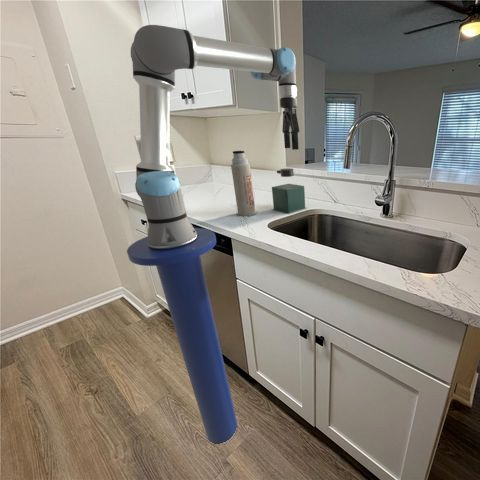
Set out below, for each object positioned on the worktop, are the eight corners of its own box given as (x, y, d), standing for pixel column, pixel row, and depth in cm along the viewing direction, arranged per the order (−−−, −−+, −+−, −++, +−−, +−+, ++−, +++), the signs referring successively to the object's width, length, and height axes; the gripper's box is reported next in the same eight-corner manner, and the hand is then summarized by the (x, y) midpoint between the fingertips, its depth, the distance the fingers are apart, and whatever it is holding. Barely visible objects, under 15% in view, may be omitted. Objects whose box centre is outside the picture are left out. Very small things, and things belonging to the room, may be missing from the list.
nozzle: (273, 175, 124) (272, 169, 123) (283, 173, 128) (282, 167, 127) (286, 177, 118) (286, 170, 117) (296, 175, 122) (295, 169, 121)
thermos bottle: (258, 213, 122) (251, 150, 112) (244, 216, 117) (235, 151, 106) (249, 210, 128) (241, 150, 117) (234, 213, 122) (225, 151, 111)
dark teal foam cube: (271, 208, 129) (269, 186, 125) (288, 204, 136) (286, 183, 132) (288, 213, 121) (287, 189, 117) (305, 208, 129) (304, 186, 124)
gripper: (305, 94, 105) (307, 149, 113) (289, 101, 126) (291, 147, 134) (287, 93, 102) (290, 150, 110) (273, 100, 124) (277, 147, 132)
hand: (291, 148), depth 122 cm, fingers open, 13 cm apart
